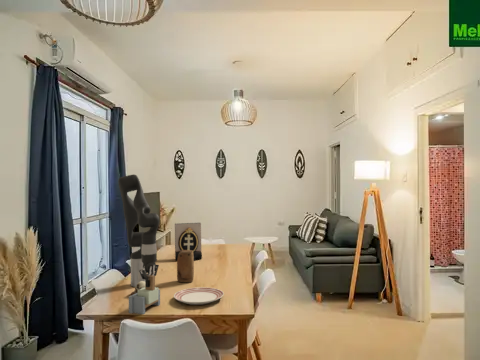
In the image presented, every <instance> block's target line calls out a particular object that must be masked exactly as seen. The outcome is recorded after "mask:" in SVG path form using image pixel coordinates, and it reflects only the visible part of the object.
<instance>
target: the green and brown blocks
mask: <svg viewBox="0 0 480 360" xmlns="http://www.w3.org/2000/svg"><path fill="white" fill-rule="evenodd" d="M147 277H148V275H147ZM159 290H160V289H159V287H156V276H153V275H150V287H146V285H145V287H144V288H142V289H140V290H138V293H137V296H141V297H145V304H150V303H152V302H154V301H156V300H158V291H159Z"/></svg>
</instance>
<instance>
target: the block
mask: <svg viewBox="0 0 480 360" xmlns="http://www.w3.org/2000/svg"><path fill="white" fill-rule="evenodd" d="M194 273H195V260H194V255H193V251H192V250H181V251H180V252H179V254H178V259H177V261H176V279H177V282H179V283H180V282H181V283H192V282H193V281H194Z"/></svg>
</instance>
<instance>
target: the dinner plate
mask: <svg viewBox="0 0 480 360" xmlns="http://www.w3.org/2000/svg"><path fill="white" fill-rule="evenodd" d="M224 295H225V293H224V291H223V290H221V289H218V288H214V287H203V286H202V287H199V286H198V287H190V288H184V289H181V290H179V291H176V292H175V293H174V294H173V298H174V299H175V300H177V301H178V302H180V303H184V304H187V305H191V306H192V305H193V306H194V305H195V306H197V305H198V306H200V305H208V304H211V303H213V302H215V301H218V300H220V299H221V298H222V297H223V296H224Z"/></svg>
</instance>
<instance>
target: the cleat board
mask: <svg viewBox="0 0 480 360" xmlns="http://www.w3.org/2000/svg"><path fill="white" fill-rule="evenodd" d="M151 305H152V306H158V307H159V306H160V305H161V289H159V291H158V300H156V301H154V302H152V303H150V304H145V297H141V296H137V293H136V294H134V295H131V294H130V296H128V314H140V315H144V314H146V309H147V308H149V307H150V306H151Z"/></svg>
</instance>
